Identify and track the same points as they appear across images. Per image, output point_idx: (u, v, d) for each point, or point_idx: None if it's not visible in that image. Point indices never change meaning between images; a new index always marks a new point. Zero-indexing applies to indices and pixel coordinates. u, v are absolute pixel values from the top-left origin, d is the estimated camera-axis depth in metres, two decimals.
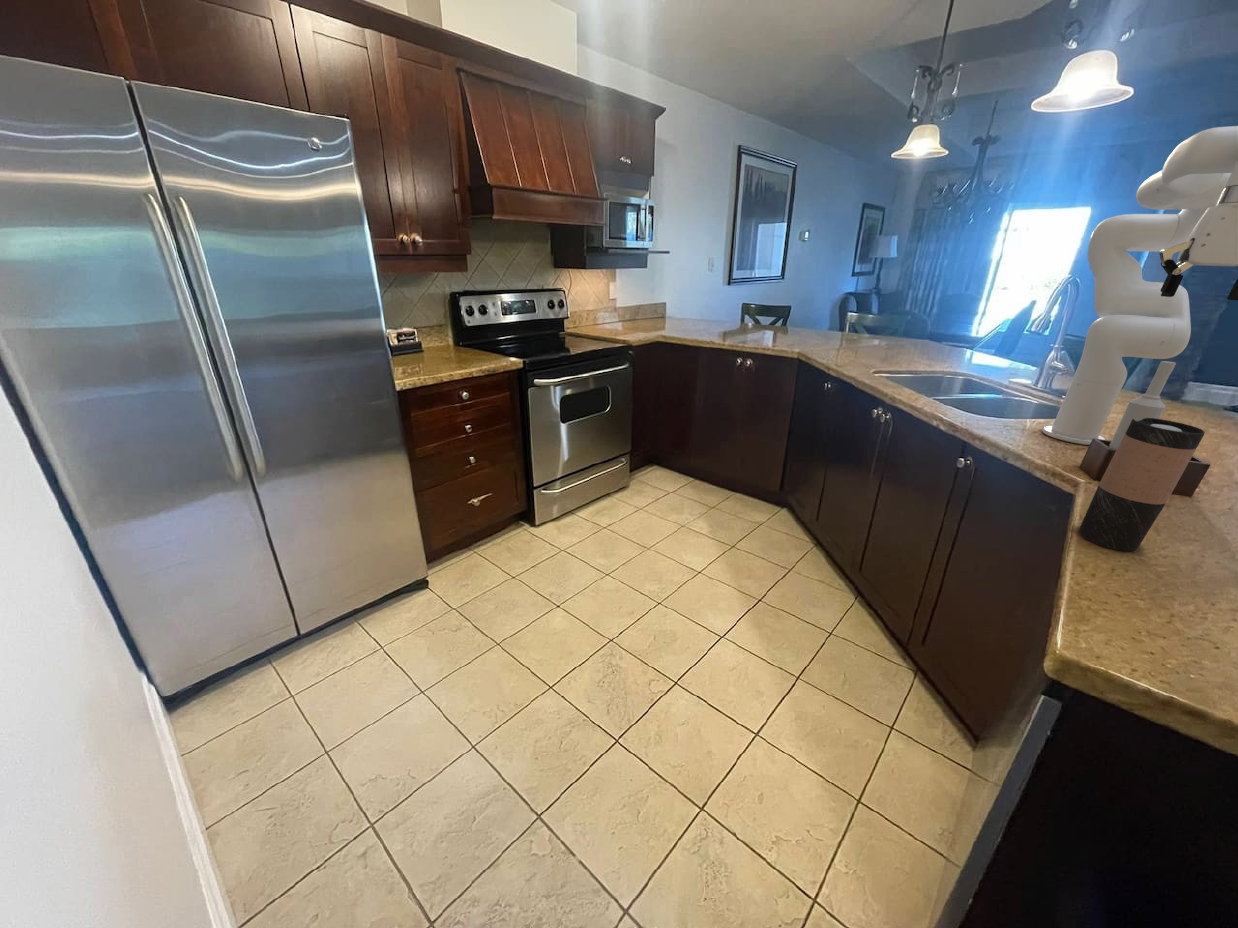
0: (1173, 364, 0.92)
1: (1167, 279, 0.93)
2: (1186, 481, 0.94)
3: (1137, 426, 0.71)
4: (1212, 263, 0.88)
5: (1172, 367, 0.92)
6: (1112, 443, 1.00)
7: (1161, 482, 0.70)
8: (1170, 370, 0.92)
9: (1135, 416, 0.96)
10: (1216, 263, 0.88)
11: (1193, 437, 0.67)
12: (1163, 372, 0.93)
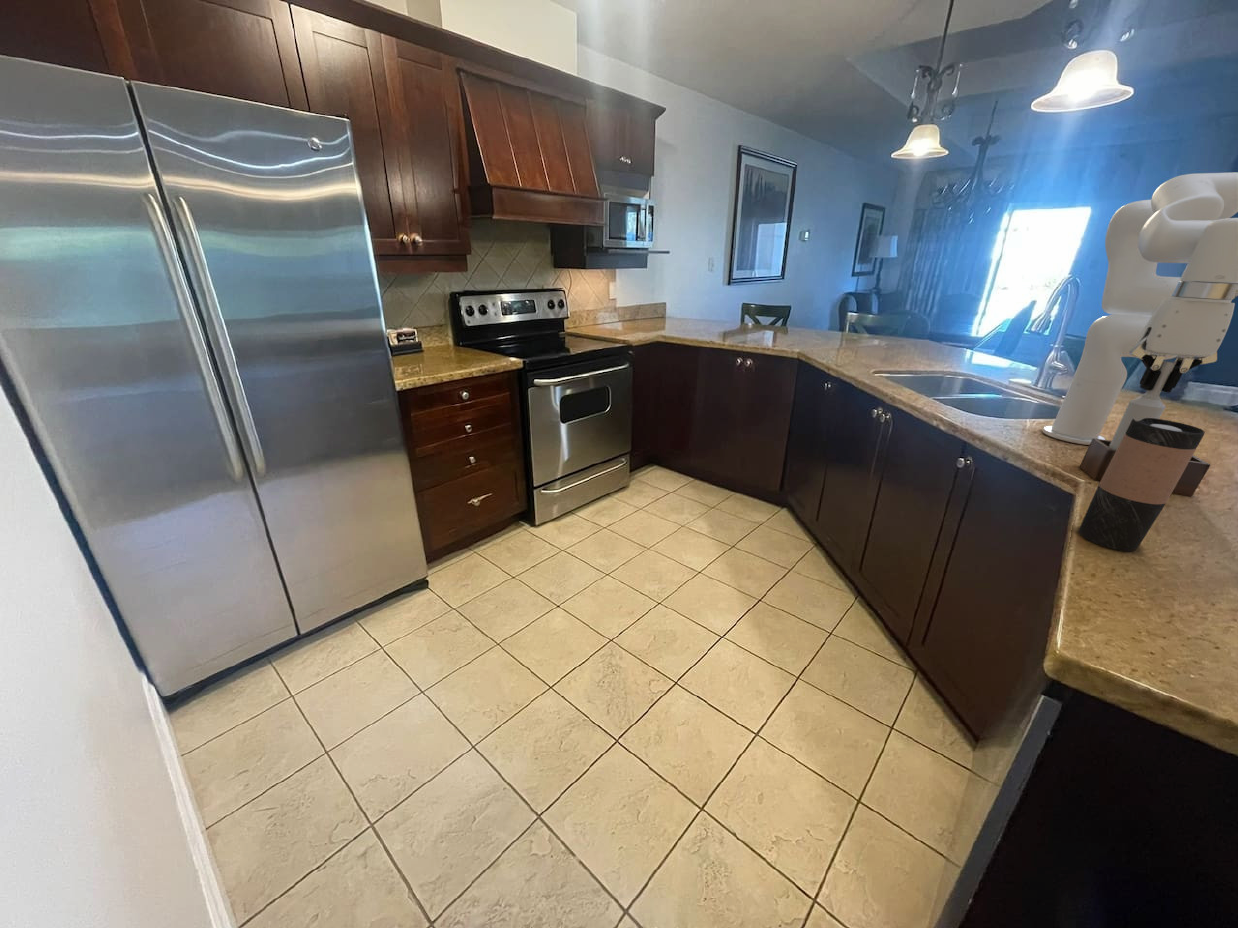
0: (1173, 364, 0.92)
1: (1146, 373, 0.94)
2: (1186, 481, 0.94)
3: (1137, 426, 0.71)
4: (1168, 353, 0.91)
5: (1172, 367, 0.92)
6: (1112, 443, 1.00)
7: (1161, 482, 0.70)
8: (1170, 370, 0.92)
9: (1135, 416, 0.96)
10: (1172, 353, 0.90)
11: (1193, 437, 0.67)
12: (1163, 372, 0.93)
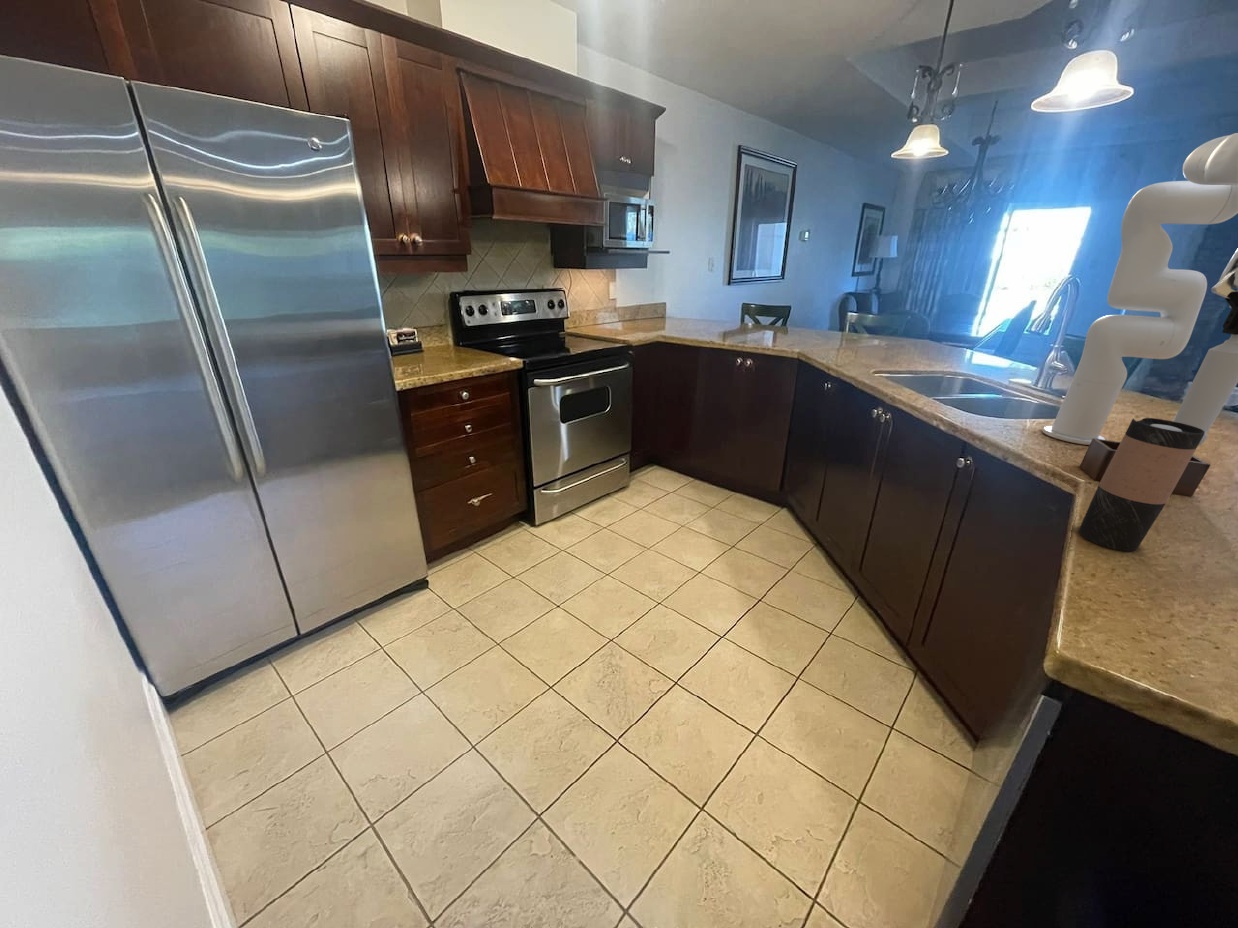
0: None
1: (1231, 314, 0.80)
2: (1186, 481, 0.94)
3: (1137, 426, 0.71)
4: None
5: None
6: (1186, 400, 0.86)
7: (1161, 482, 0.70)
8: None
9: (1217, 365, 0.81)
10: None
11: (1193, 437, 0.67)
12: None
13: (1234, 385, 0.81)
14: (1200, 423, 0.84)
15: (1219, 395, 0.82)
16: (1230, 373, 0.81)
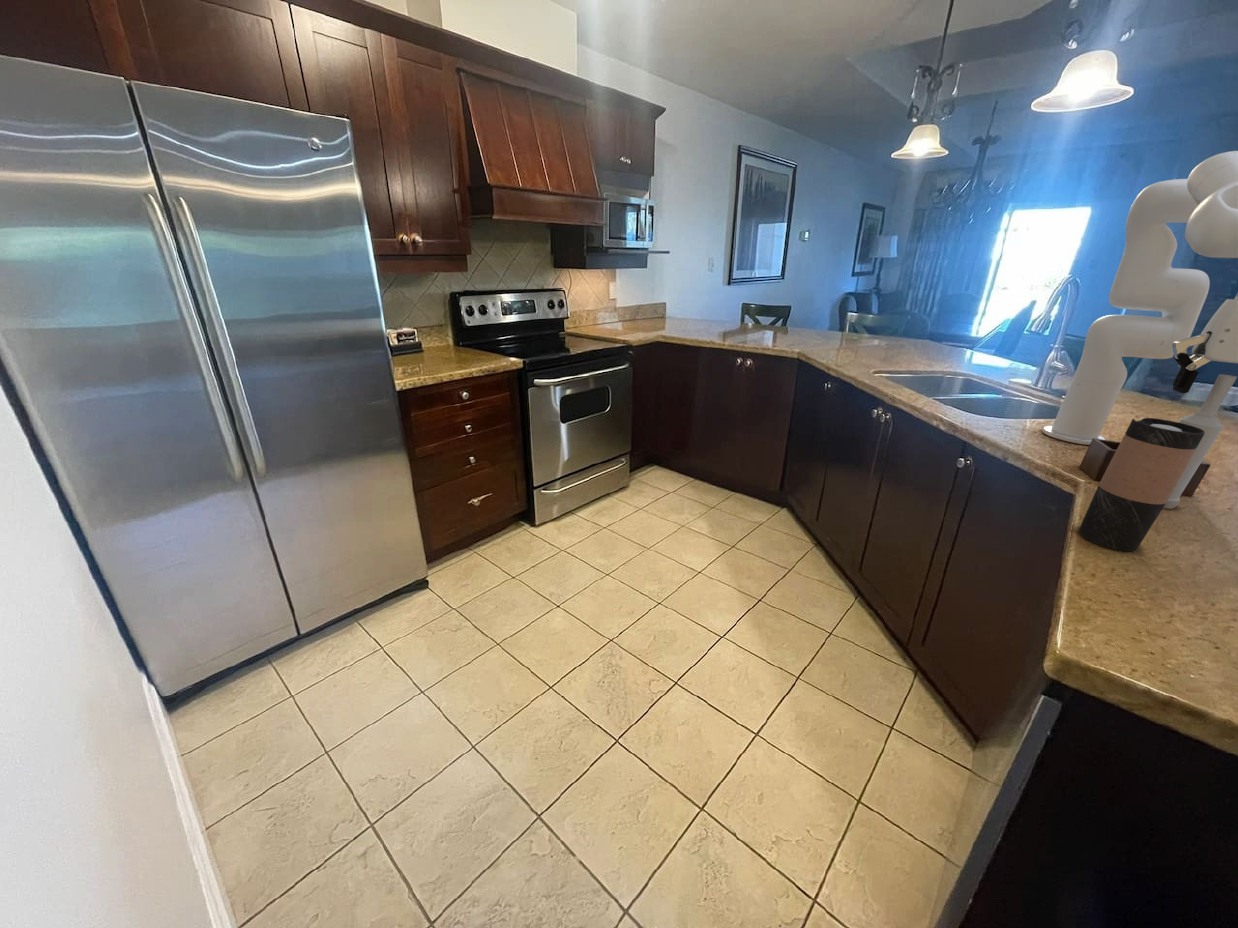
0: (1234, 378, 0.81)
1: (1180, 373, 0.84)
2: None
3: (1137, 426, 0.71)
4: (1231, 361, 0.79)
5: (1233, 381, 0.81)
6: None
7: (1161, 482, 0.70)
8: (1230, 385, 0.81)
9: None
10: (1236, 361, 0.79)
11: (1193, 437, 0.67)
12: (1222, 387, 0.82)
13: (1204, 455, 0.85)
14: None
15: (1190, 463, 0.86)
16: (1200, 444, 0.84)
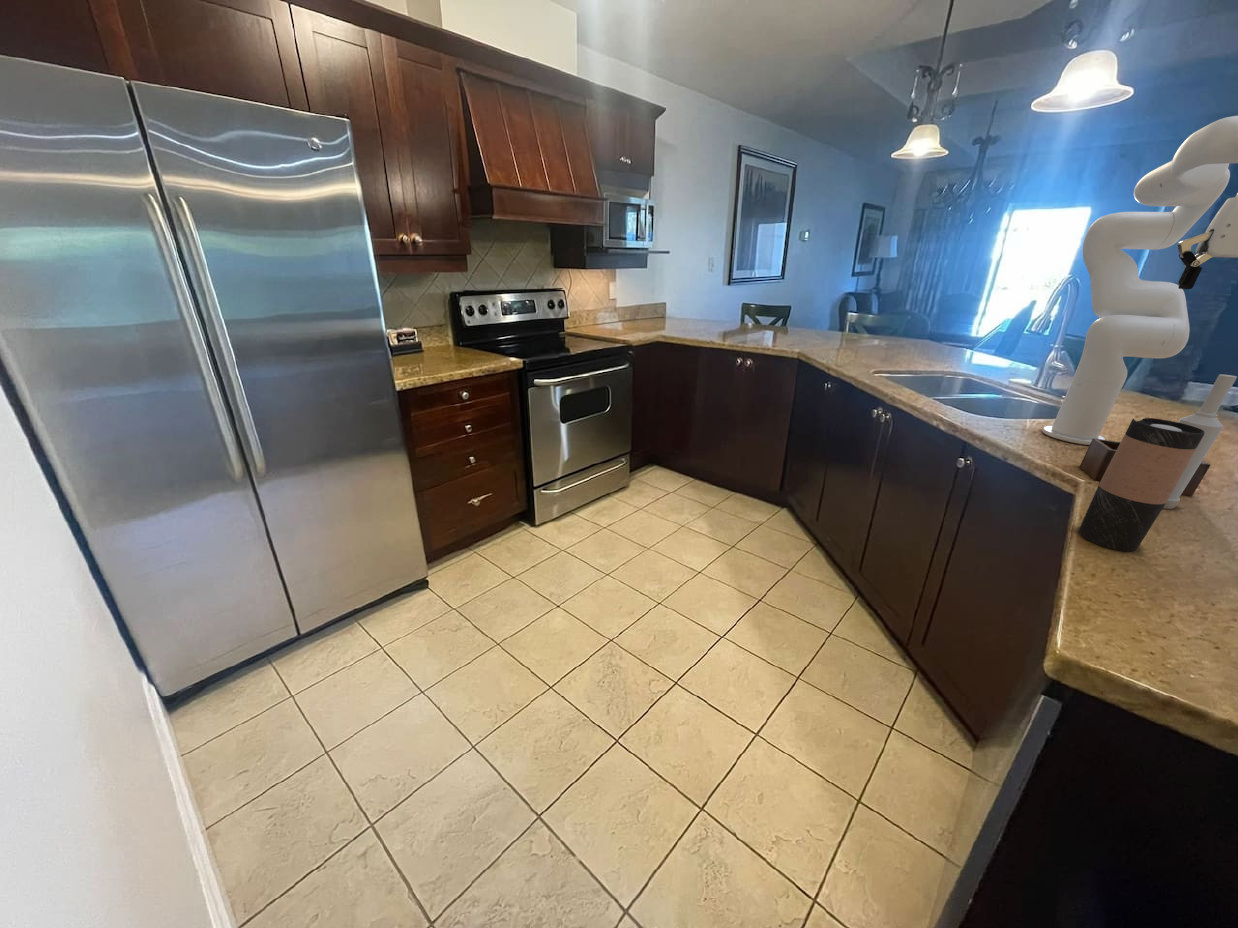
0: (1234, 378, 0.81)
1: (1185, 271, 0.91)
2: None
3: (1137, 426, 0.71)
4: (1232, 254, 0.87)
5: (1233, 381, 0.81)
6: None
7: (1161, 482, 0.70)
8: (1230, 385, 0.81)
9: None
10: (1236, 254, 0.87)
11: (1193, 437, 0.67)
12: (1222, 387, 0.82)
13: (1204, 455, 0.85)
14: None
15: (1190, 463, 0.86)
16: (1200, 444, 0.84)
